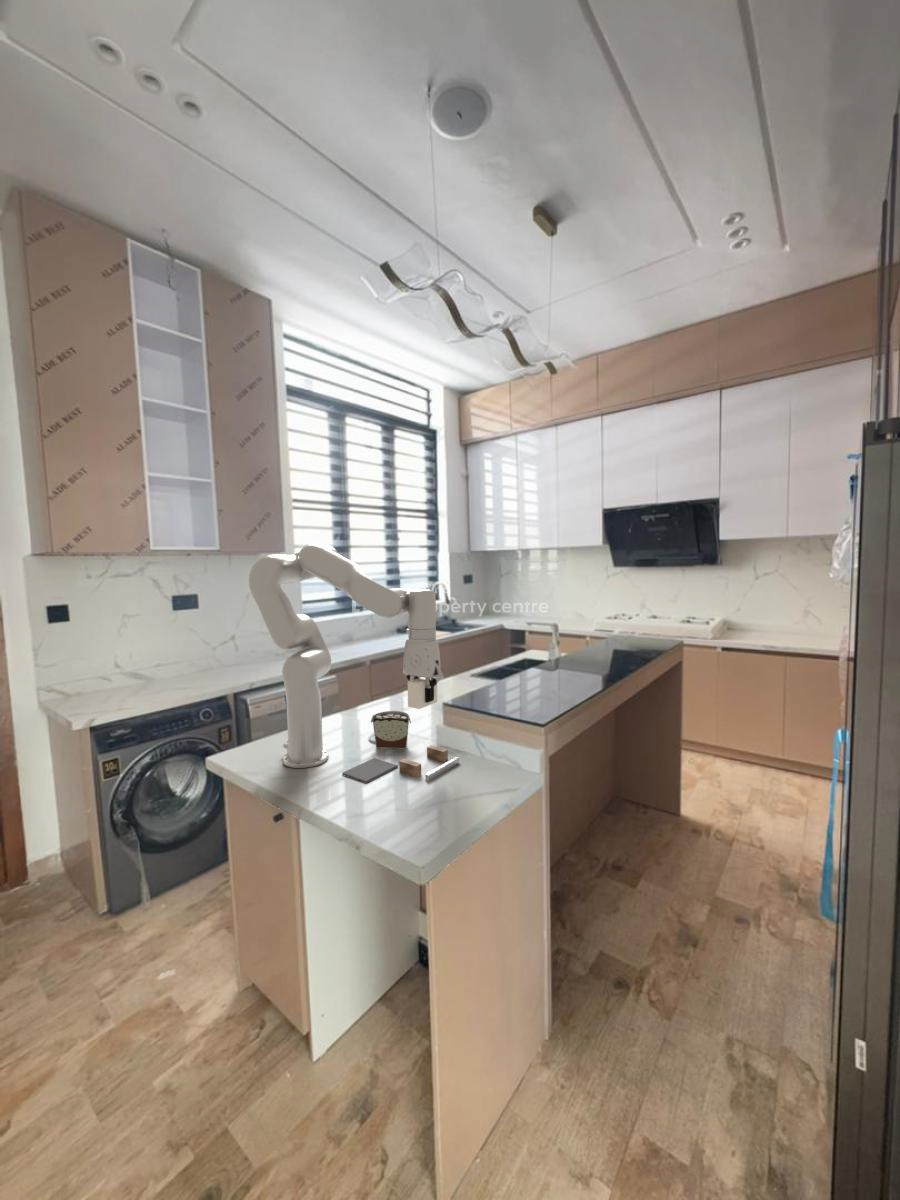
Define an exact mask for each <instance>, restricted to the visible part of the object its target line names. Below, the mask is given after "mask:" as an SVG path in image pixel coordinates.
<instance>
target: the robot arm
mask: <svg viewBox="0 0 900 1200" xmlns="http://www.w3.org/2000/svg"><path fill="white" fill-rule="evenodd" d="M314 578H318V579H320V580H321V581H323V582H325V583H327V584H328V585H331V586H332V587H334V588H336V589H338V590H339V591H341V592H343V594H344V595H345V596H347V597H348V598H350V599H351V600H352V601H353V602H354V603H356V604H357V605H359V606H360V607H363V608H365V610H368V611H369V612H372V613H374V614H375V615H378V616H379V617H381V618H385V619H392V618H395V617H397V616H401V615H406V614H407V623H408V624H407V625H408V627H407V629H406V631H405V632H406V634H407V635H408V638H406V639H405V643H404V649H403V659H402V660H403V662H402V663H403V665H402V668H403V669H402V670H401V673H402V674H403V675H404V676H405V677H406V679H407V681H410V680H414V679H417V678H420V677H423V678H425V680H426V686H427V688H425V702H426V703H428V702H431V701H433V700H434V687H435V686H436V684H437V685H438V683H439V682H440V681H442V680H443V679H444V678H445V676H444V674H443V672H442V670H441V655H440V654H441V653H440V652H441V651H440V646H439V641H438V639H437V628H436V627H437V626H436V625H437V624H436V623H437V618H436V613H437V612H436V610H437V609H436V605H437V604H436V603H437V602H436V592H435V591H434V590H433V589H428V588H417V589H415V588H413V589H406V588H400V587H395V588H388V587H386V586H384V585H382V584H380V583H378V582H376V581H375V580H373V579H371V578H370V577H368V576H367V575H366V574H365V573H364V571H363V570H362V568H361V566H360V565H359V564H357V563H355V562H353V561H352V560H350V559H348V558H346V557H344V556H342V555H340V554H339V552H338V550H337V549H335V547H333V546H332V545H329V544H326V543H318V542H316V543H314V542H312V543H308V544H306V545H305V546H303V547H302V548H301V549H300V551H299V552H296V553H293V554H278V553H277V554H276V553H274V554H268V555H264V556H262V557H260V558H258V559H257V561H255V563H254V564H253V565H252V567H251V568H250V571H249V574H248V587H249V590H250V593H251V595H252V597H253V599H254V601H255V604H256V605H257V607H258V609H259V611H260V613H261V617H262V619H263V621H264V624H265V626H266V627H267V630H268V632H269V635H270V638H271V639H272V641H273V643H274V645H275V646H276V647H277V648H278V649H280V650H283V651H290V650H293V649H294V650H295V652H294V653H292V655H290V656H288V657H287V659H285V662H283V665H282V674H281V675H282V680H283V684H284V685H283V686H284V689H285V701H286V717H287V719H286V720H287V723H286V724H287V741H286V742H285V743H283V745H282V747H283V748H284V749H285V750H286V751H287V753H286V754H285V755H284V757H282V761H283V762H282V763H283V765H284V766H286V767H288V768H293V769H304V768H312V767H316V766H319V765H321V764H323V763H325V762H326V761H328V759H329V752H328V751H327V749H324V744H323V743H324V742H323V720H322V719H323V716H322V715H323V714H322V696H321V691H320V686H319V682H318V680H319V679H320V678H322V677H324V676H325V675H326V674H327V673H328V672H329V671H330V669H331V667H332V657H331V654H330V653H331V652H330V651H329V649H328V646H327V645H326V642H325V640H324V637H323V636H322V633H321V631H320V629H319V627H318V625H317V623H316V621H314V619H313V618H312V617H311V616H309V615H307V614H304V613H296V611H295V609H294V608H293V605H292V603H291V601H290V598H289V597H288V596H287V594H286V592H284V591H283V589H282V587H281V585H287V584H295V583H299V582H303V581H306V580H310V579H314ZM435 677H436V678H435ZM430 678H431V682H430Z"/></svg>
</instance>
